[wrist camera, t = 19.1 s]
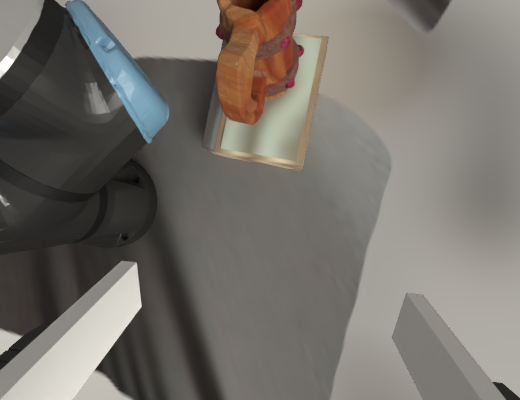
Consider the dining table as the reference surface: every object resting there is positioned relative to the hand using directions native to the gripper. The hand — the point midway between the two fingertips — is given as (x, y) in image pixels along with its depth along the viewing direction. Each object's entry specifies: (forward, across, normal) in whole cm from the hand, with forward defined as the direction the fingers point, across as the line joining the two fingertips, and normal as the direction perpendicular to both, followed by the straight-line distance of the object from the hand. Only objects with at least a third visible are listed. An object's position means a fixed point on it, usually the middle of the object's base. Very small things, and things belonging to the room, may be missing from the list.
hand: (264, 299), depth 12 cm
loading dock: (+31, -2, +10) cm, 33 cm away
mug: (+27, -2, +11) cm, 30 cm away
